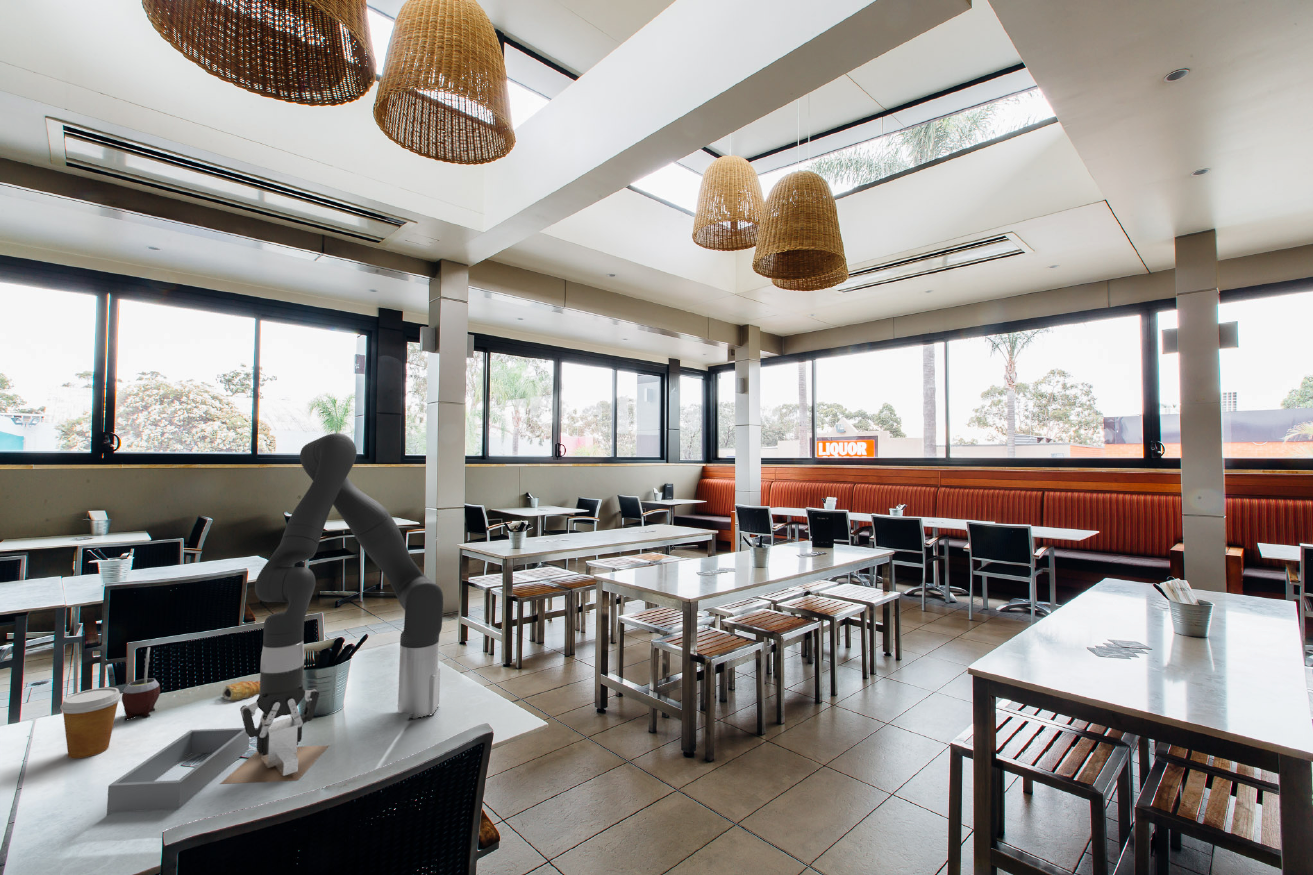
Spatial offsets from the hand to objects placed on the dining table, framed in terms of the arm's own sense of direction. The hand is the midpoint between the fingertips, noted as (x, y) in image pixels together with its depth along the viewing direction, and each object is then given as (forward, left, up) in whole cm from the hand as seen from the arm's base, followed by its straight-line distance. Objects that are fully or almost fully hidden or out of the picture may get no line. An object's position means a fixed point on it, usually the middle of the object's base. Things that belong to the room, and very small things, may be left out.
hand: (279, 748), depth 120 cm
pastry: (+29, -42, -5) cm, 51 cm away
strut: (0, 0, -2) cm, 2 cm away
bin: (+15, +4, -4) cm, 16 cm away
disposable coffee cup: (+44, -12, -5) cm, 46 cm away
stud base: (0, 0, -4) cm, 4 cm away
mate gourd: (+47, -31, -5) cm, 57 cm away
